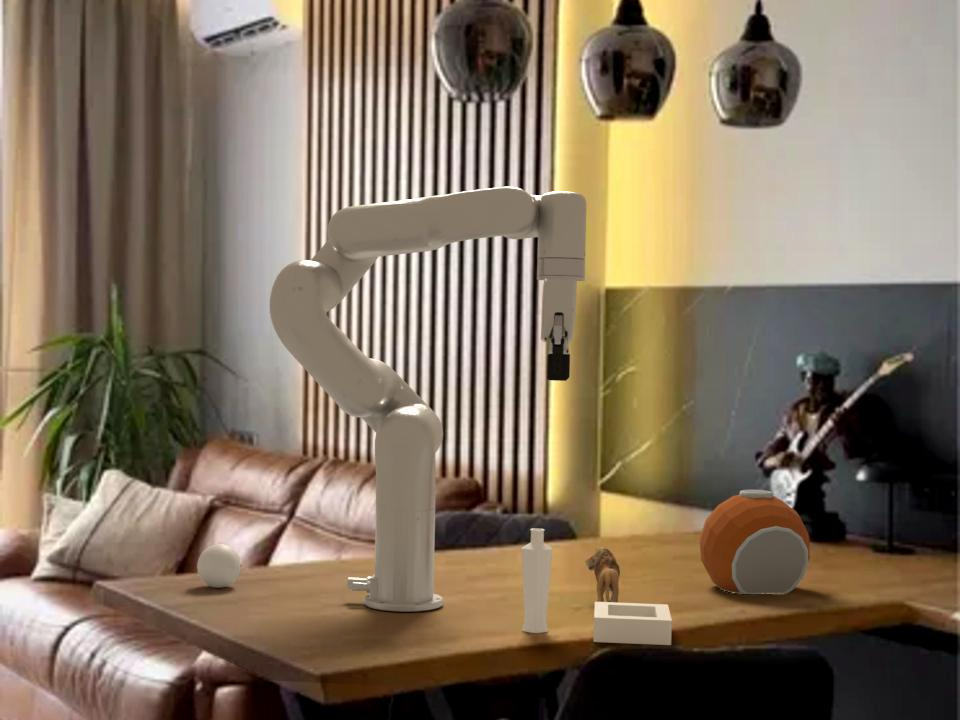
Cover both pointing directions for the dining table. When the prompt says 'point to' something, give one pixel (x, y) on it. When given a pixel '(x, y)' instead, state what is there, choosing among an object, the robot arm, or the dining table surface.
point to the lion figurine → (605, 574)
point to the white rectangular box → (632, 623)
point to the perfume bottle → (536, 581)
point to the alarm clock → (755, 544)
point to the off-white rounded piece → (219, 565)
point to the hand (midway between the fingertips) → (558, 379)
